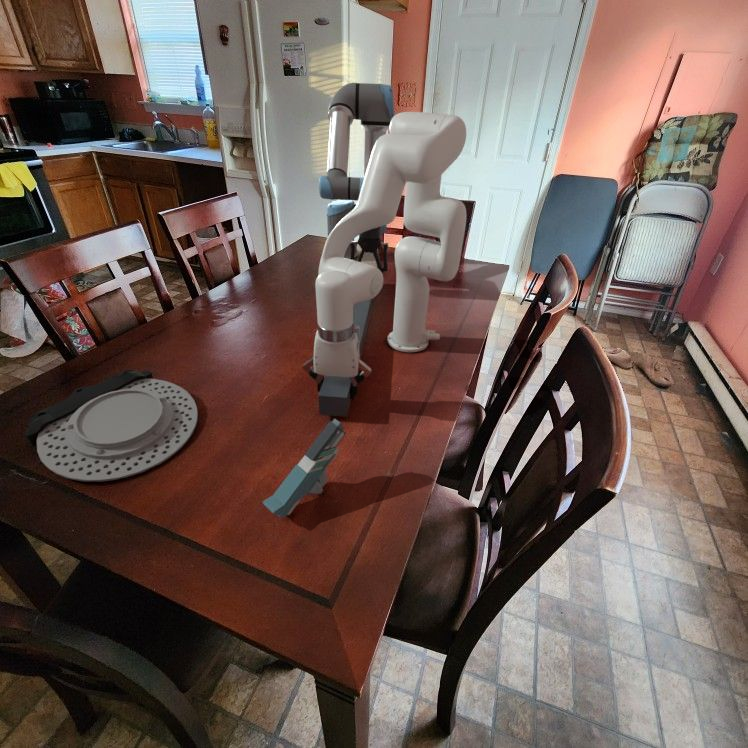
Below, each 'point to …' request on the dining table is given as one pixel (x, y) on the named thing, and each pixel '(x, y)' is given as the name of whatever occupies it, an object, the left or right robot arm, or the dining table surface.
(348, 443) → the dining table surface
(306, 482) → the toy gun
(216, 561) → the dining table surface
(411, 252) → the right robot arm
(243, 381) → the dining table surface
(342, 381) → the bar
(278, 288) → the dining table surface
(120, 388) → the brake disc
